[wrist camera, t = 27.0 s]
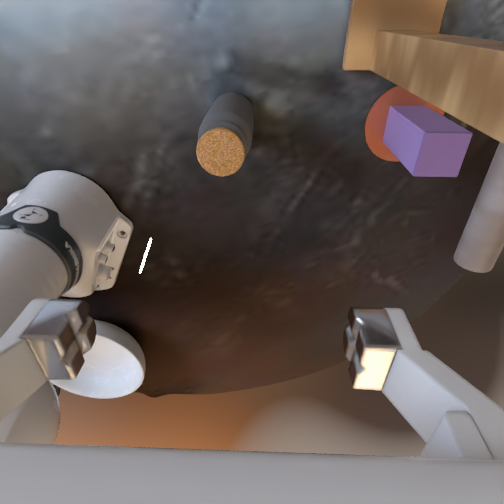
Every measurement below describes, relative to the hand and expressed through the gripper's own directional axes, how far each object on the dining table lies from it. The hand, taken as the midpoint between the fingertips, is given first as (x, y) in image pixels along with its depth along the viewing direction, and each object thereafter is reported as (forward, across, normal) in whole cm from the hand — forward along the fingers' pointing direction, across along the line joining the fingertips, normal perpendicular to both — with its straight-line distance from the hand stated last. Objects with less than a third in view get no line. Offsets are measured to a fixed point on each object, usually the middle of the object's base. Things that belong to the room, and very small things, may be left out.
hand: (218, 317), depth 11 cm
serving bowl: (+40, -31, -49) cm, 70 cm away
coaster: (+40, +20, -4) cm, 45 cm away
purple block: (+34, +20, -6) cm, 40 cm away
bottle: (+40, -3, -4) cm, 41 cm away
